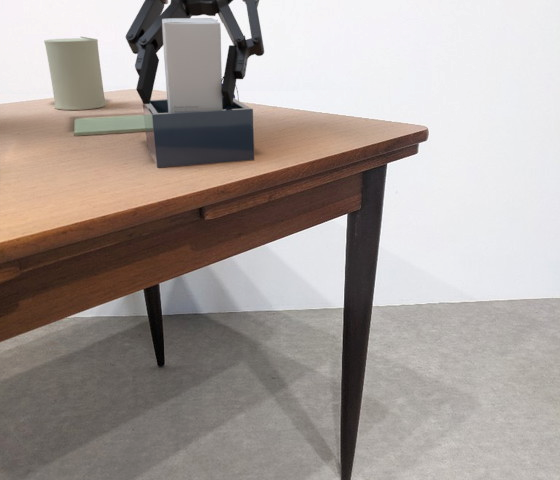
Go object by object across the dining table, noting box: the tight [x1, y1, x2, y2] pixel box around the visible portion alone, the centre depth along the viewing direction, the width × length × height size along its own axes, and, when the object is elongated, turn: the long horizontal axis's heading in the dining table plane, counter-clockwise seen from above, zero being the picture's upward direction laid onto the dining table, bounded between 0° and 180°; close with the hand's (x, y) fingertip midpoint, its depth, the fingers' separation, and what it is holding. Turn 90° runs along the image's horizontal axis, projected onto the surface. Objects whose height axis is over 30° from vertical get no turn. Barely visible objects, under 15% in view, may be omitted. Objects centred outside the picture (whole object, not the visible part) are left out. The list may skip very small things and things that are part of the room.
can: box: [43, 36, 107, 111], centre depth 110 cm, size 9×9×12 cm
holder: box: [142, 96, 255, 169], centre depth 75 cm, size 12×12×6 cm
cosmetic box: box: [162, 17, 223, 113], centre depth 73 cm, size 8×7×16 cm
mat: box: [73, 114, 146, 137], centre depth 94 cm, size 12×12×1 cm
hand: (184, 97), depth 70 cm, fingers open, 9 cm apart
